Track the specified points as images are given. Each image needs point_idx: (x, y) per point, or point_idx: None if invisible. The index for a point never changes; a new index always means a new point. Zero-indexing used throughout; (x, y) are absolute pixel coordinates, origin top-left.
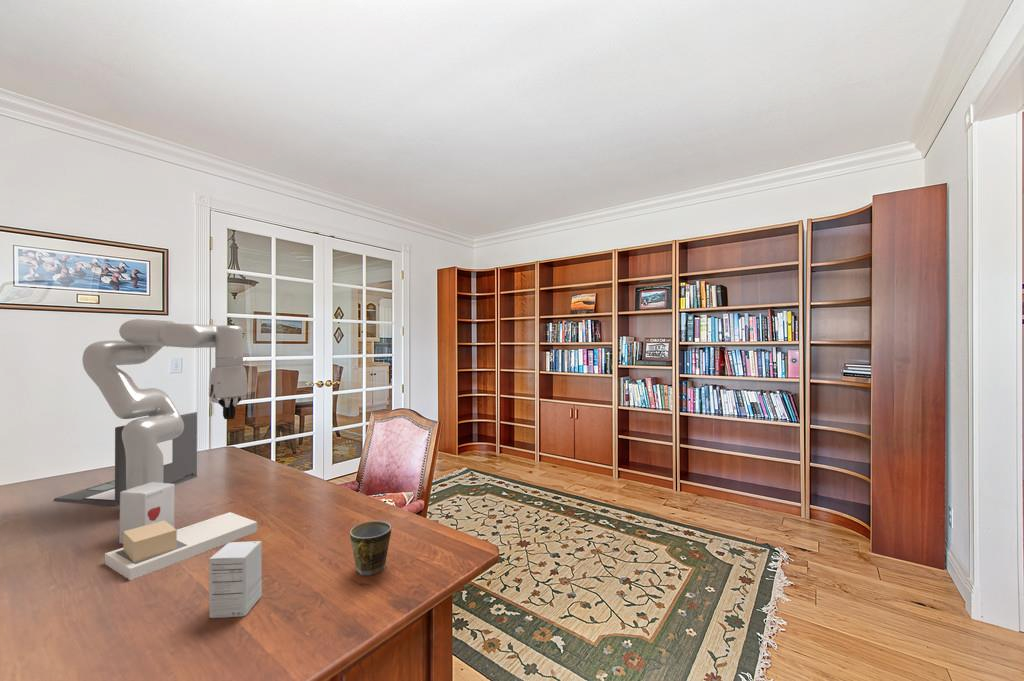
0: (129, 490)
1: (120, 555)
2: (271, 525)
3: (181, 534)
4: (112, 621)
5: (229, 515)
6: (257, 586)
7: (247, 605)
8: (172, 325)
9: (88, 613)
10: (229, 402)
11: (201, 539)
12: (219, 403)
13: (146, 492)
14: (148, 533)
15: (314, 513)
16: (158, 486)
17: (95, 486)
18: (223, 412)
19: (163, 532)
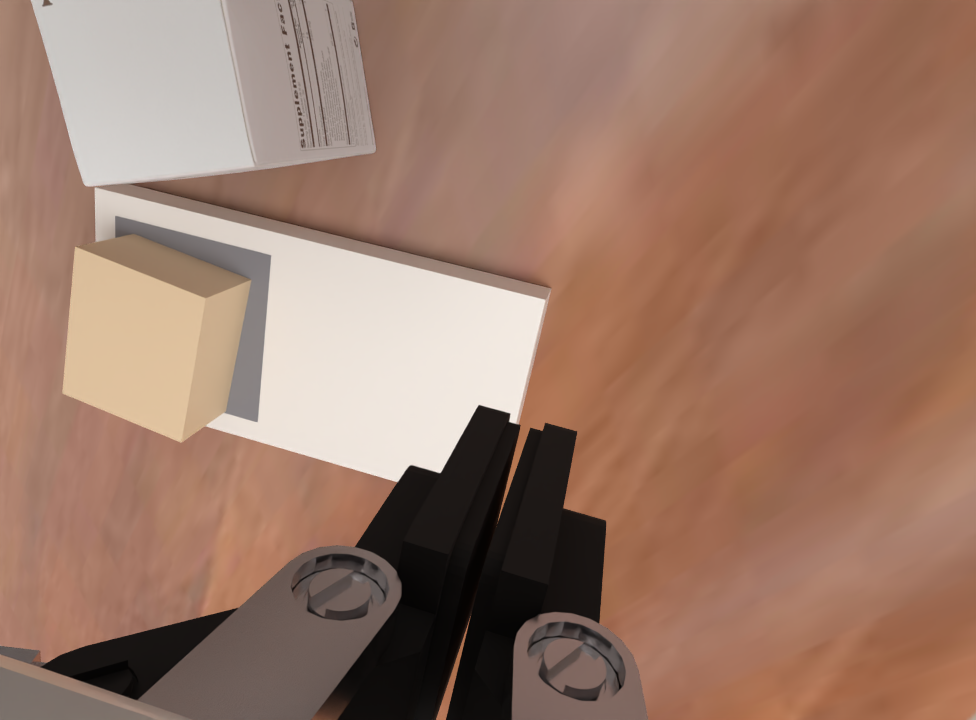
0: (58, 10)
1: None
2: (571, 498)
3: (300, 311)
4: (44, 514)
5: (512, 334)
6: None
7: None
8: None
9: (24, 431)
10: (510, 710)
11: (305, 429)
12: (148, 665)
13: (95, 171)
14: (116, 368)
15: (733, 589)
16: (176, 122)
17: None
18: (383, 519)
19: (147, 415)
